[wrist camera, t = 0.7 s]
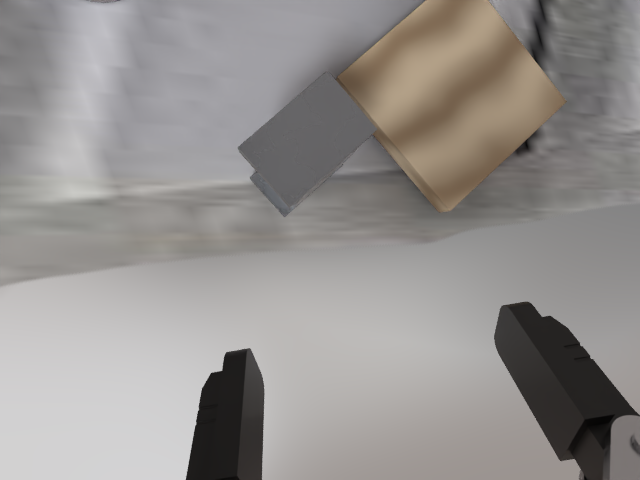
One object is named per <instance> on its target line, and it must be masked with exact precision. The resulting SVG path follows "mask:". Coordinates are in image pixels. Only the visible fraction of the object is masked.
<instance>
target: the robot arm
mask: <svg viewBox="0 0 640 480" xmlns="http://www.w3.org/2000/svg"><path fill="white" fill-rule="evenodd" d="M87 1H91V2H101V3H106V2H114V1H118V0H87ZM494 339H495V345H496V348H497V351H498V353H499V355H500V357H501V359H502V361H503V362H504V364H505V366H506V368H507V369H508V371H509V373H510V375H511V376H512V378H513V380H514V382H515V383H516V385H517V387H518V389H519V390H520V392H521V394H522V396H523V397H524V399H525V401H526V402H527V404H528V406H529V408H530V409H531V411H532V413H533V415H534V416H535V418H536V420H537V422H538V423H539V425H540V427H541V428H542V430H543V432H544V434H545V436H546V437H547V439H548V441H549V442H550V444H551V446H552V448H553V449H554V451H555V453H556V455H557V456H558V458H559V460H560V461H563V460H570V459H575V460H576V462H577V463H578V465H579V467H580V469H581V470H580V475H579V480H640V415H639V414H638V413H637V412H635V410H634V409H633V408H632V407H631V406H630V405H629V403H628V402H627V401H626V400H625V399H624V397H623V396H622V395H621V394H620V392H619V391H618V390H617V389H616V387H615V386H614V385H613V384H612V382H611V381H610V380H609V379H608V378H607V376H606V375H605V374H604V373H603V371H602V370H601V369H600V368H599V366H598V365H597V364H596V363H595V361H594V360H593V359H591V358H590V355H589V354H588V353H587V351H586V350H585V349H584V348H583V347H582V346H580V343H579V342H578V340H577V339H576V338H575V337H574V335H573V334H572V333H571V332H570V330H569V329H568V328H567V327H566V326H564V325H563V324H561V323H560V322H558V321H557V320H555V319H554V318H553V317H551V316H546V317H541V315H540V314H539V313H538V311H537V310H536V309H535V307H534V306H533V305H532V304H531V303H529V302H521V303H515V304H510V305H503V306H502V307H501V309H500V313H499V317H498V322H497V326H496V330H495V335H494ZM263 420H264V383H263V378H262V374H261V372H260V370H259V367H258V365H257V362H256V361H255V358H254V356H253V353H252V351H251V349H250V348H249V349H242V350H237V351H231V352H226V354H225V357H224V362H223V370H222V371H220V372H214V373H211V374H210V376H209V378H208V380H207V381H206V383H205V385H204V387H203V388H202V392H201V397H200V403H199V411H198V414H197V420H196V422H197V424H196V426H195V431H194V437H193V443H192V448H191V454H190V460H189V465H188V471H187V476H186V480H262V454H263V453H262V452H263Z"/></svg>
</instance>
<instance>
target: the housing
mask: <svg viewBox="0 0 640 480" xmlns="http://www.w3.org/2000/svg"><path fill="white" fill-rule="evenodd" d="M376 130H377V128H376V127H375V126H374V125H373V124H372V122H371V121H370V120H369V119H368V118H367V116H366V115H365V114H364V113H363V112H362V111H361V109H360V108H359V107H358V106H357V105H356V103H355V102H354V101H353V100H352V99H351V98H350V96H349V95H348V94H347V93H346V92H345V90H344V89H343V88H342V87H341V86H340V84H339V83H338V82H337V81H336V80H335V79H334V77H333V76H332V75H331V74H330V73H329V71H326V72H325V73H324V74H323V75H322V76H321V77H319V78H318V79H317V80H316V81H315V82H314V83H312V84H311V85H310V86H309V87H308V88H307V89H305V90H304V91H303V92H302V93H301V94H300V95H298V96H297V97H296V98H295V99H294V100H293V101H291V102H290V103H289V104H288V105H287V106H286V107H284V108H283V109H282V110H281V111H280V112H279V113H277V114H276V115H275V116H274V117H273V118H272V119H270V120H269V121H268V122H267V123H266V124H265V125H263V126H262V127H261V128H260V129H259V130H258V131H256V132H255V133H254V134H253V135H252V136H250V137H249V138H248V139H247V140H246V141H245V142H243V143H242V144H241V145H240V146H239V147H238V150H239V152H240V153H241V154H242V156H243V157H244V158H245V159H246V160H247V161H248V162H249V163H250V165H251V166H252V167H253V168H254V169H255V170H256V171H257V172H256V173H255V174H253V175H252V176H251V177H250V179H251V181H252V182H253V183H254V184H255V185H256V186H257V187H258V188H259V190H260V191H261V192H262V193H263V194H264V195H265V196H266V197H267V198H268V200H269V201H270V202H271V203H272V204H273V205H274V206H275V207H276V208H277V210H278V211H279V212H280V213H281V214H282V215H283V216H284V217H285V216H286V215H288V214H289V213H290V212H291V211H292V210H293V209H294V208H295V207H297V206H298V205H299V204H300V203H301V202H302V201H303V200H304V199H306V198H307V197H308V196H309V195H310V194H311V193H312V192H313V191H315V190H316V189H317V188H318V187H319V186H320V185H321V184H322V183H324V182H325V181H326V180H327V179H328V178H329V177H330V176H331V175H332V174H334V173H335V172H336V171H337V170H338V169H339V168H340V167H341V166H342V165H343V163H344V162H345V161H346V160H347V159H348V158H349V157H350V156H351V155H352V153H353V152H354V151H355V150H356V149H357V148H358V147H359V146H360V145H361V144H362V143H363V142H364V141H366V140H367V139H368V138H369V137H370V136H371V135H372V134H373V133H374V132H375V131H376Z"/></svg>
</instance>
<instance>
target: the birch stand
mask: <svg viewBox="0 0 640 480" xmlns="http://www.w3.org/2000/svg"><path fill="white" fill-rule="evenodd" d="M336 81H337V82H338V83H339V84H340V86H341V87H342V88H343V89H344V90H345V92H346V93H347V94H348V95H349V96H350V98H351V99H352V100H353V101H354V102H355V103H356V105H357V106H358V107H359V108H360V109H361V111H362V112H363V113H364V114H365V115H366V116H367V118H368V119H369V120H370V121H371V122H372V124H373V125H374V126H375V127H376V128H377V130H376V131H375V132H374V133H373V135H374V136H375V138H376V139H377V140H378V141H379V142H380V143H381V145H382V146H383V147H384V148H385V149H386V151H387V152H388V153H389V154H390V155H391V156H392V158H393V159H394V160H395V161H396V162H397V163H398V165H399V166H400V167H401V168H402V169H403V171H404V172H405V173H406V174H407V175H408V176H409V178H410V179H411V180H412V181H413V182H414V184H415V185H416V186H417V187H418V188H419V189H420V191H421V192H422V193H423V194H424V195H425V197H426V198H427V199H428V200H429V201H430V202H431V204H432V205H433V206H434V207H435V208H436V210H437V211H438V212H439V213H440V212H447V211H451V210H452V209H453V208H454V207H455V206H456V205H457V204H458V203H459V202H460V201H462V200H463V199H464V198H465V197H466V196H467V195H468V194H469V193H470V192H471V191H472V190H473V189H474V188H475V187H476V186H477V185H479V184H480V183H481V182H482V181H483V180H484V179H485V178H486V177H487V176H488V175H489V174H490V173H491V172H492V171H493V170H495V169H496V168H497V167H498V166H499V165H500V164H501V163H502V162H503V161H504V160H505V159H506V158H507V157H508V156H509V155H511V154H512V153H513V152H514V151H515V150H516V149H517V148H518V147H519V146H520V145H521V144H522V143H523V142H524V141H525V140H526V139H528V138H529V137H530V136H531V135H532V134H533V133H534V132H535V131H536V130H537V129H538V128H539V127H540V126H541V125H542V124H544V123H545V122H546V121H547V120H548V119H549V118H550V117H551V116H552V115H553V114H554V113H555V112H556V111H557V110H558V109H559V108H561V107H562V106H563V105H564V104H565V103H566V102H567V101H566V100H565V99H564V98H563V96H562V95H561V94H560V92H559V91H558V90H557V89H556V87H555V86H554V85H553V83H552V82H551V81H550V80H549V78H548V77H547V76H546V74H545V73H544V72H543V71H542V69H541V68H540V67H539V65H538V64H537V63H536V61H535V60H534V59H533V58H532V56H531V55H530V54H529V52H528V51H527V50H526V49H525V47H524V46H523V45H522V43H521V42H520V41H519V40H518V38H517V37H516V36H515V34H514V33H513V32H512V31H511V29H510V28H509V27H508V25H507V24H506V23H505V22H504V20H503V19H502V18H501V16H500V15H499V14H498V13H497V11H496V10H495V9H494V7H493V6H492V5H491V4H490V2H489V1H488V0H426V1H425V2H423V3H422V4H421V5H420V6H419V7H418V8H417V9H415V10H414V11H413V12H412V13H411V14H410V15H408V16H407V17H406V18H405V19H404V20H403V21H401V22H400V23H399V24H398V25H397V26H396V27H394V28H393V29H392V30H391V31H390V32H389V33H387V34H386V35H385V36H384V37H383V38H382V39H381V40H379V41H378V42H377V43H376V44H375V45H374V46H372V47H371V48H370V49H369V50H368V51H367V52H365V53H364V54H363V55H362V56H361V57H360V58H358V59H357V60H356V61H355V62H354V63H353V64H351V65H350V66H349V67H348V68H347V69H346V70H345V71H343V72H342V73H341V74H340V75H339V76H338V77H337V79H336Z"/></svg>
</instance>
